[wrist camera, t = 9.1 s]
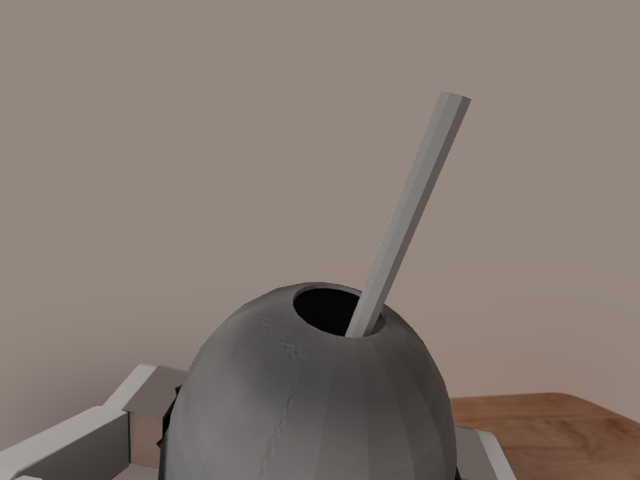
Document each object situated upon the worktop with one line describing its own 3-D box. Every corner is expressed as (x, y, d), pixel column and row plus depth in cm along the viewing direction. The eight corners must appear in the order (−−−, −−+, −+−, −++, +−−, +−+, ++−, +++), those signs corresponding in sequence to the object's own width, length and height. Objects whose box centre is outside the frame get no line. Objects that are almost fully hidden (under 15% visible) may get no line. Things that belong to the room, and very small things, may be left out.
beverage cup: (270, 501, 17) (349, 103, 11) (387, 650, 13) (640, 141, 6) (118, 650, 12) (81, 21, 5) (233, 991, 7) (898, -106, 1)
